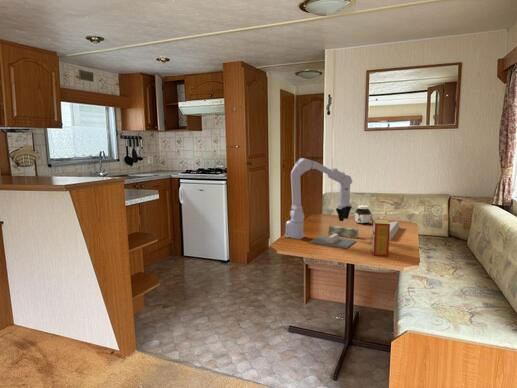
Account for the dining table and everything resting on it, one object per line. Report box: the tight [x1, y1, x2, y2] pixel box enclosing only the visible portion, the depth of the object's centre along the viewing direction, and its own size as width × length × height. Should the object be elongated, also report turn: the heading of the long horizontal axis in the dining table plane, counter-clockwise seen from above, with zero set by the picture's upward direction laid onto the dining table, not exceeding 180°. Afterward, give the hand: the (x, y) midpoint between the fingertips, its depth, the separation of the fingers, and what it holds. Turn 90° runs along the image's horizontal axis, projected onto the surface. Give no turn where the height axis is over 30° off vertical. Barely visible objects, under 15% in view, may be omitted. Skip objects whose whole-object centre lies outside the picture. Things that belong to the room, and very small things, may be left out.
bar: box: [327, 225, 359, 240], centre depth 209 cm, size 16×4×5 cm, turn 59°
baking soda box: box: [371, 218, 390, 257], centre depth 176 cm, size 10×6×16 cm
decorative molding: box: [370, 221, 400, 242], centre depth 216 cm, size 34×5×10 cm
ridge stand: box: [309, 234, 357, 250], centre depth 195 cm, size 20×16×4 cm
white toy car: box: [354, 204, 376, 226], centre depth 240 cm, size 12×11×12 cm
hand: (343, 219), depth 208 cm, fingers open, 7 cm apart
